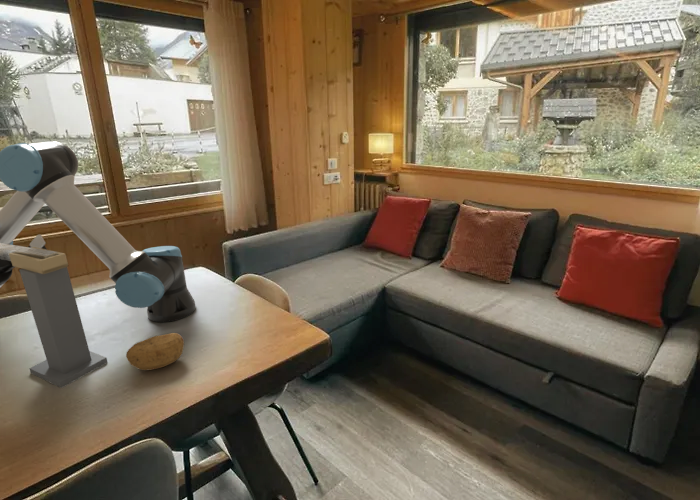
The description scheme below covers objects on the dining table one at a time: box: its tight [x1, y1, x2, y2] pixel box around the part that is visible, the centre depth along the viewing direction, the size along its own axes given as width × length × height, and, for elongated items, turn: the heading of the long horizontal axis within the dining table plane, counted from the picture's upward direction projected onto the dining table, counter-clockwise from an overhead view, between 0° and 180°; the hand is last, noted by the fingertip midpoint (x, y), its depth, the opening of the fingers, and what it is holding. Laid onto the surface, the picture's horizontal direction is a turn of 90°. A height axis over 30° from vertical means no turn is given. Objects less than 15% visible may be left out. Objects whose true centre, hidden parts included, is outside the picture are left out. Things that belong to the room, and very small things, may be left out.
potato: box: [125, 332, 185, 371], centre depth 108 cm, size 10×14×8 cm
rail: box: [0, 243, 59, 261], centre depth 102 cm, size 23×3×3 cm, turn 67°
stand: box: [9, 247, 109, 389], centre depth 104 cm, size 14×12×32 cm
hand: (16, 245), depth 103 cm, fingers open, 11 cm apart
